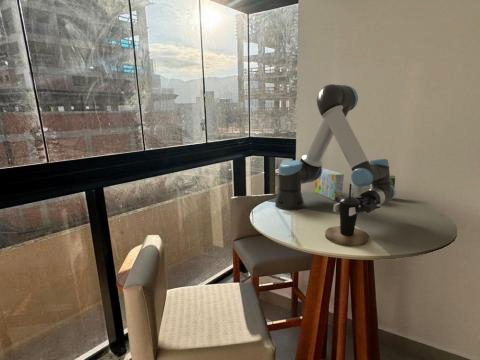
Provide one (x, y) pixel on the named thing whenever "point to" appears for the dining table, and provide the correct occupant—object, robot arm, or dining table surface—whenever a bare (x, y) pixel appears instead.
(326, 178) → the snack box
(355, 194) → the supplement tub
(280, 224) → the dining table surface
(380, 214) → the dining table surface
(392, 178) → the coffee box
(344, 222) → the drinking cup
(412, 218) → the dining table surface
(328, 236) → the coaster board
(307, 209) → the dining table surface
